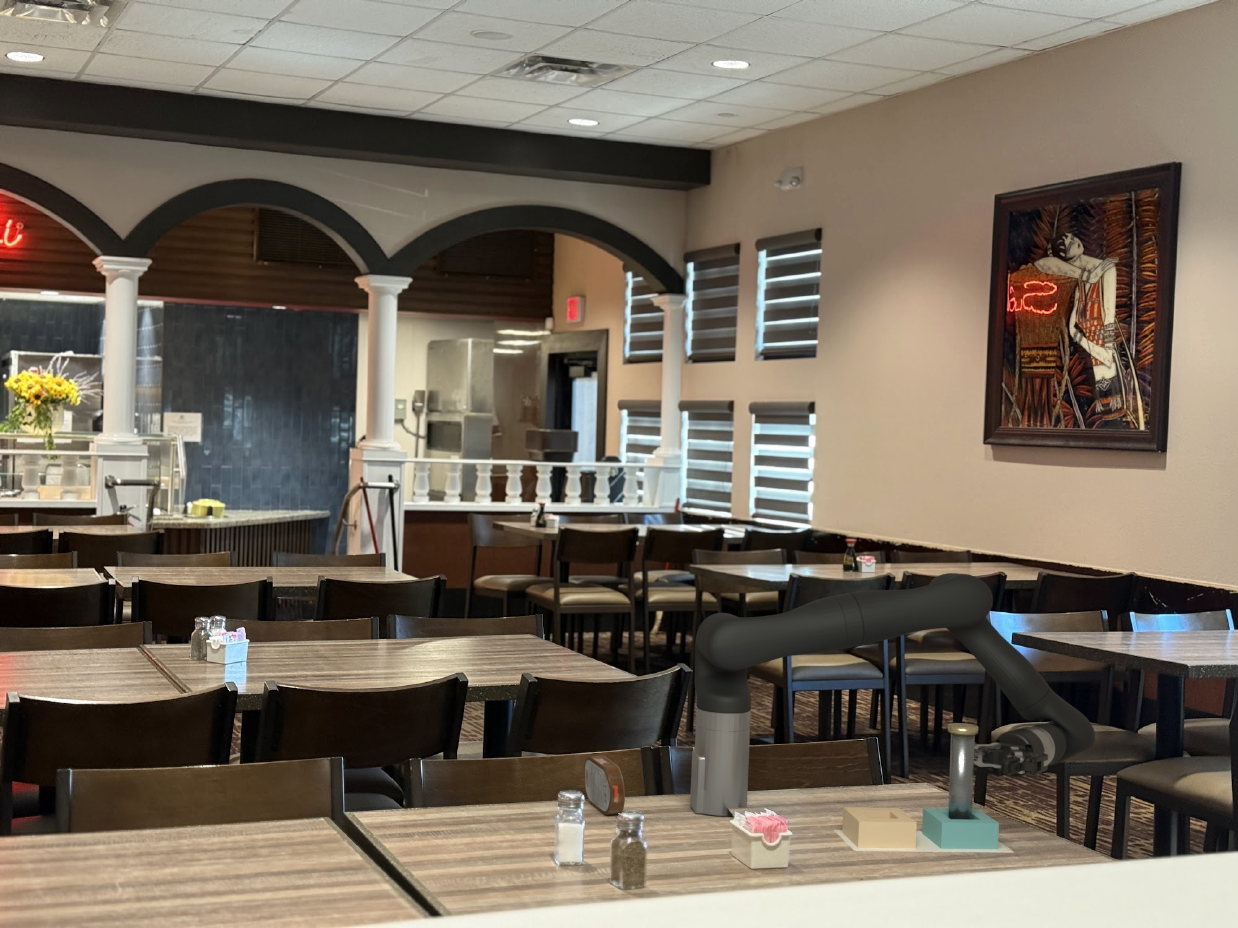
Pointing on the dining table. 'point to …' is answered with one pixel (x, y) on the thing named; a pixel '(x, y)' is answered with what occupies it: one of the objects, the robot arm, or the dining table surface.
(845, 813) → the dock
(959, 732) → the pin
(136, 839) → the dining table surface
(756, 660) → the robot arm
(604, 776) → the tin
